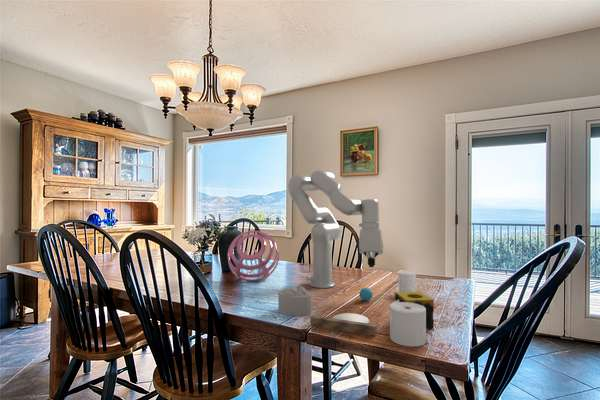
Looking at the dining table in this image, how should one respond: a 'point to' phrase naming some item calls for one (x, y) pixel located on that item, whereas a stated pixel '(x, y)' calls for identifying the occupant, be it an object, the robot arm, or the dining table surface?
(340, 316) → the disc
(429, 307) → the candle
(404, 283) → the white cup
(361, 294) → the ball
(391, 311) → the toilet tissue
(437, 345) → the dining table surface
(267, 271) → the spiral basket
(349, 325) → the stopper rail
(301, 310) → the lumpy-topped squat cylinder
